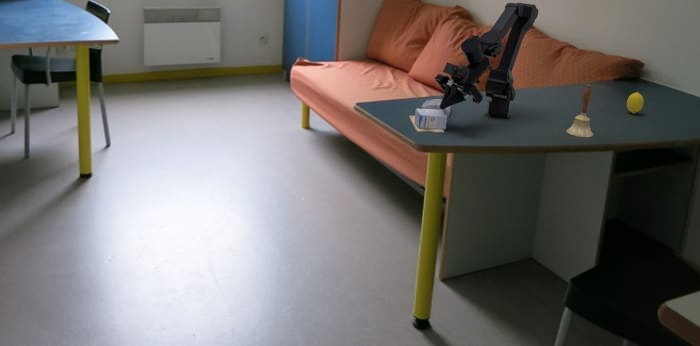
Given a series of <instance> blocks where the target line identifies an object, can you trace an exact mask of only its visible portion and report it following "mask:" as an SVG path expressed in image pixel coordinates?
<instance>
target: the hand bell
mask: <svg viewBox="0 0 700 346" xmlns="http://www.w3.org/2000/svg"><path fill="white" fill-rule="evenodd" d="M592 95H593V93H592V85H591V84H586V86H585V88H584V90H583V92H582V107H581V111H580V114H579V115H577V116H575V118H574V121H573V122H572V125H571V126H570V127H569V128H568V129H566V131H565V132H566V134H568V135H571V136H573V137H578V138H589V139H590V138H592V137H594V133H593V132H592V131H591V127H590V126H591V124H590V122H591V118H590V117H589V116H587V112H588V106H589V103H590V101H591V98H592Z"/></svg>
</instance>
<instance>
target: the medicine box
mask: <svg viewBox="0 0 700 346" xmlns="http://www.w3.org/2000/svg"><path fill="white" fill-rule="evenodd" d="M414 116H415V120H414V121H415V123H416V125H417V126H418V128H424V129H443V130H446V129H447V121H448V117H447V116H446V115H445V113H444V112H443V111H442V110H440V109H422V108H415V112H414Z"/></svg>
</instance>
